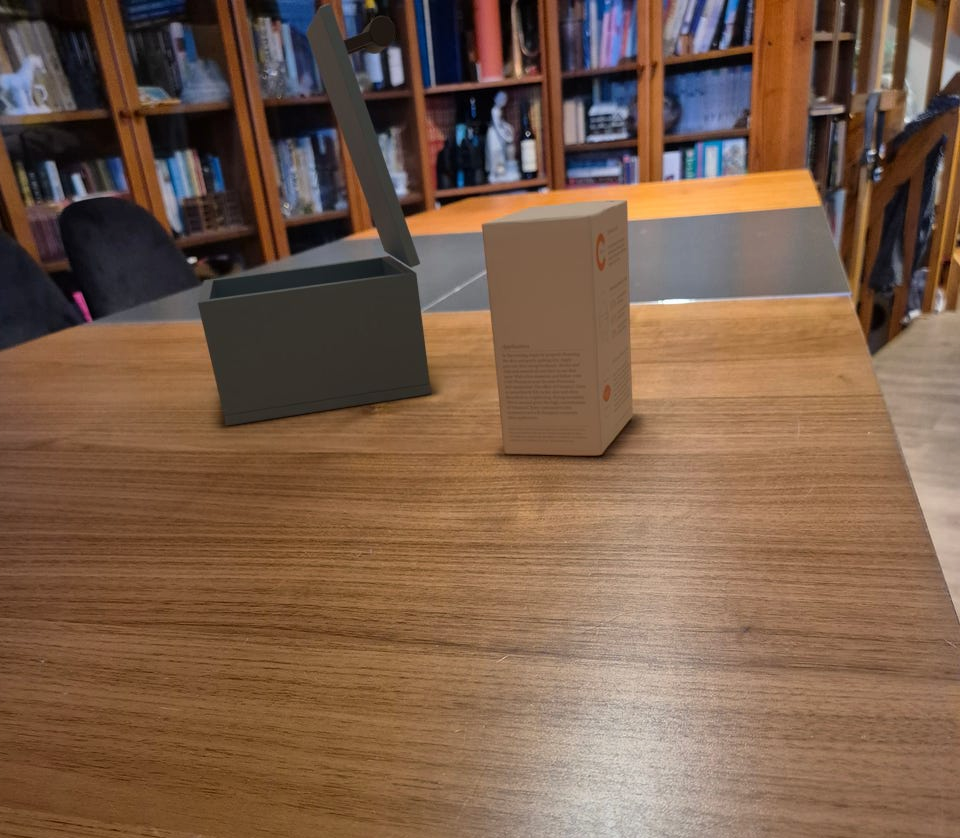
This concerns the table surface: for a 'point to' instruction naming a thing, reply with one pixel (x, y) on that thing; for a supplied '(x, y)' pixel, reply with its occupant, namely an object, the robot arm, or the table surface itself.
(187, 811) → the table surface
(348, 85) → the cool box lid
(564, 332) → the small box
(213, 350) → the cool box
